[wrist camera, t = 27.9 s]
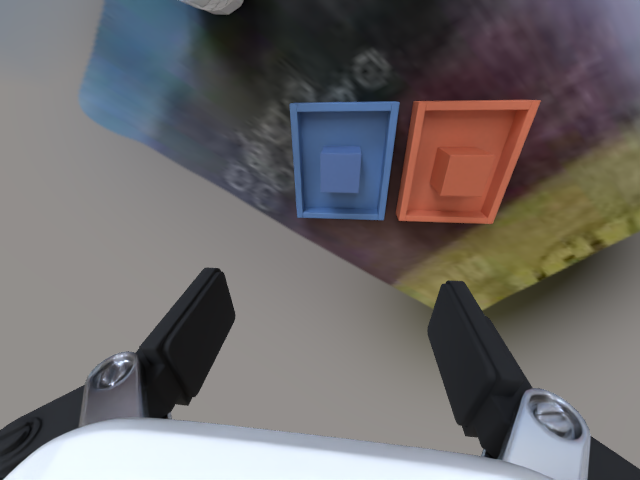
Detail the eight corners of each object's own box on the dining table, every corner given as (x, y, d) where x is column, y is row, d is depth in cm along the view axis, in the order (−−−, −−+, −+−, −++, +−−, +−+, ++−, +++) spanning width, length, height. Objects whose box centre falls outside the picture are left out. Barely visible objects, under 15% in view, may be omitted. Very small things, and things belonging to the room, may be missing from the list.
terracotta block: (476, 147, 28) (496, 155, 25) (465, 184, 31) (481, 196, 27) (437, 147, 29) (450, 155, 25) (429, 183, 31) (440, 195, 27)
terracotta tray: (525, 99, 26) (541, 100, 24) (483, 215, 33) (492, 224, 31) (413, 101, 27) (418, 101, 25) (395, 213, 34) (398, 221, 32)
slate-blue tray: (395, 101, 27) (399, 102, 25) (381, 212, 34) (384, 220, 32) (293, 102, 28) (289, 103, 26) (300, 210, 35) (297, 217, 33)
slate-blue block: (359, 145, 30) (361, 153, 26) (357, 181, 32) (358, 193, 28) (323, 145, 30) (320, 153, 26) (324, 180, 32) (320, 192, 29)
